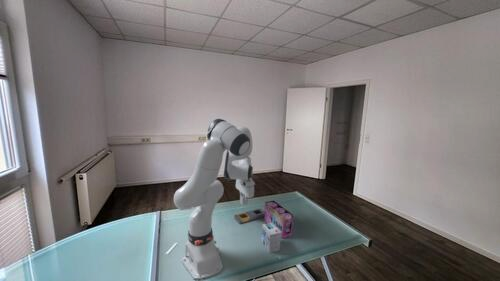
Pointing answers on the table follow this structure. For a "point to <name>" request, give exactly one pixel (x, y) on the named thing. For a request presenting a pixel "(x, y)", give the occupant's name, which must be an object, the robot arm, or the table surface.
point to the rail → (249, 216)
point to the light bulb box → (271, 237)
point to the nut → (243, 199)
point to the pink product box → (279, 218)
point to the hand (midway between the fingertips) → (243, 198)
